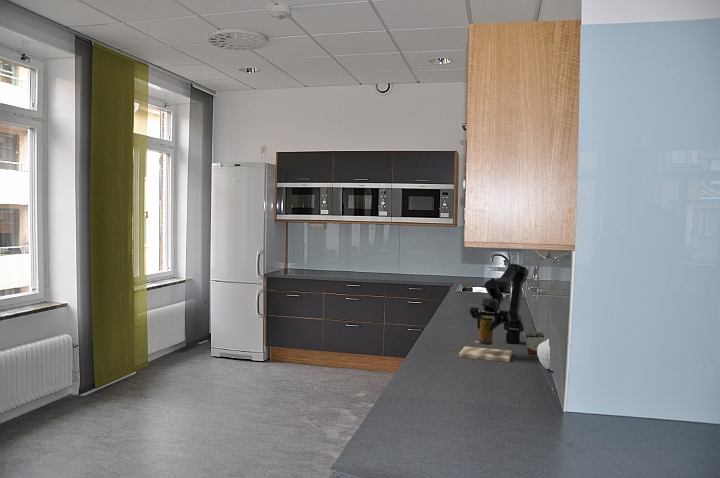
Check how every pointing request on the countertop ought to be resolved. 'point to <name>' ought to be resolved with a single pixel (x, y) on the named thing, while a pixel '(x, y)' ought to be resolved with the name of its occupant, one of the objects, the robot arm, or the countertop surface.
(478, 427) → the countertop surface
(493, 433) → the countertop surface
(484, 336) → the condiment
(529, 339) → the food container
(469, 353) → the birch board
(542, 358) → the vase
